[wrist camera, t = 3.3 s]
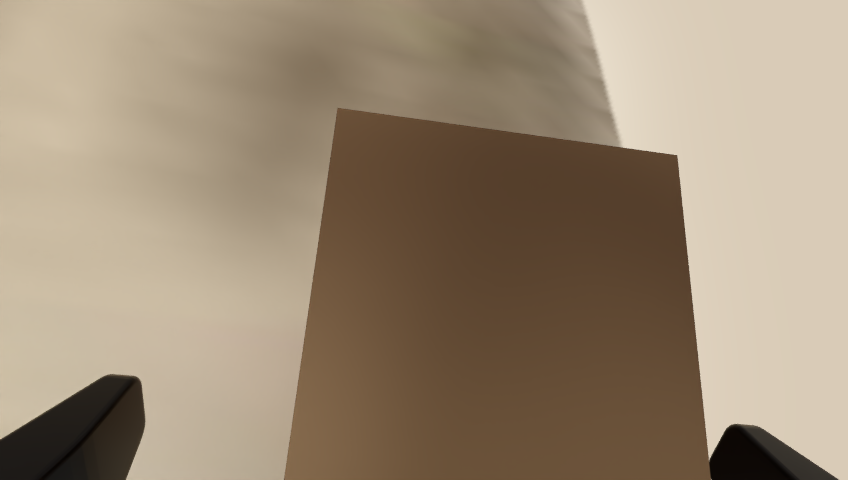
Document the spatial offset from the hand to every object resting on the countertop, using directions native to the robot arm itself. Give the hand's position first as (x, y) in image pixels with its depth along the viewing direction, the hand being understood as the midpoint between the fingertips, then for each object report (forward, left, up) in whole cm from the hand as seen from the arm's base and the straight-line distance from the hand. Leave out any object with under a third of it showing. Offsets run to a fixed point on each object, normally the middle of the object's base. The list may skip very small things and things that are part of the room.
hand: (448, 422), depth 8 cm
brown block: (+1, 0, -9) cm, 9 cm away
